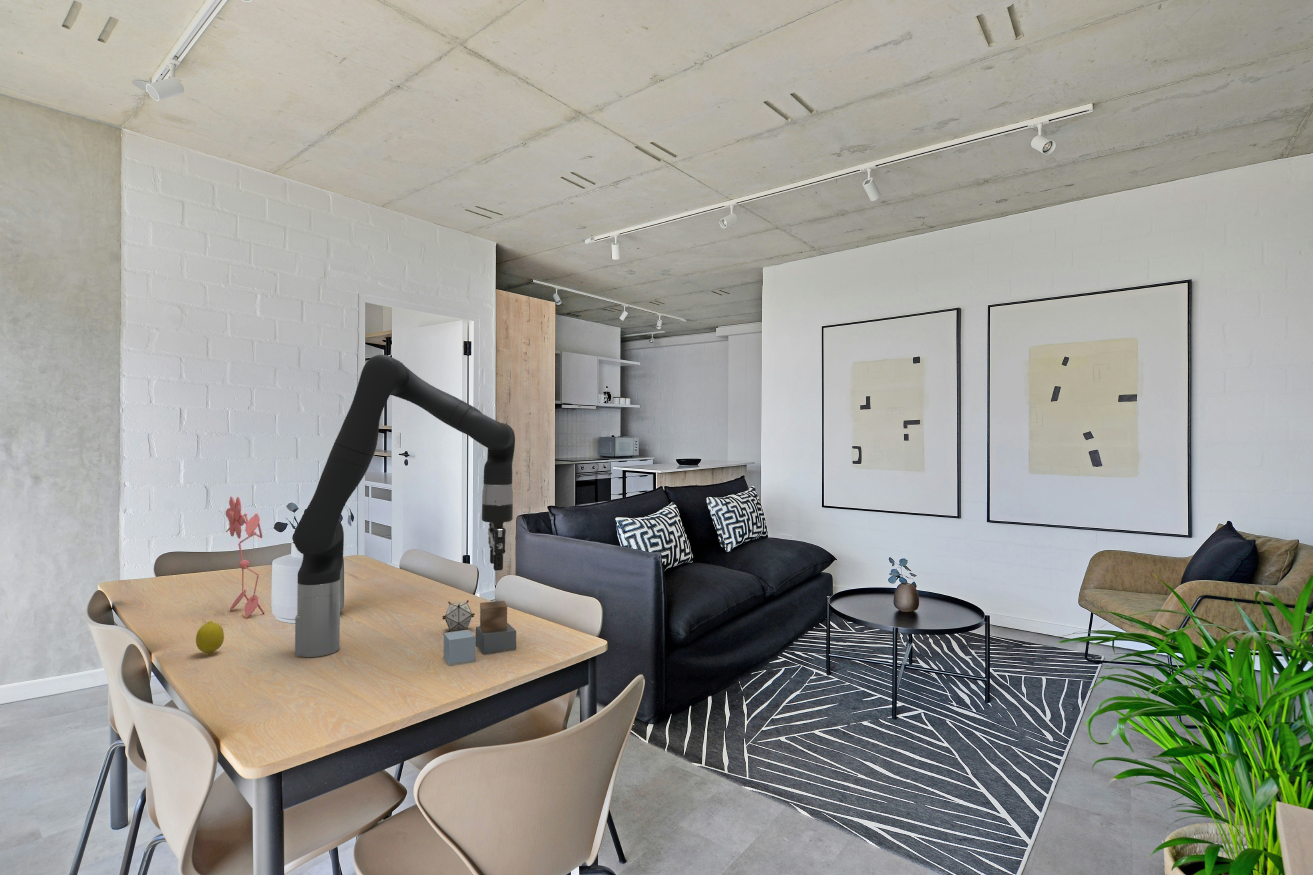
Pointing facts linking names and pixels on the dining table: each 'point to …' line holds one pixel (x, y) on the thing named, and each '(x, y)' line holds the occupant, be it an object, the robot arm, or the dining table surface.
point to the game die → (458, 616)
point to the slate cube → (459, 647)
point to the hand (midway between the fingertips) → (496, 566)
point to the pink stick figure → (235, 526)
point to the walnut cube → (493, 616)
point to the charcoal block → (496, 640)
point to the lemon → (210, 637)
